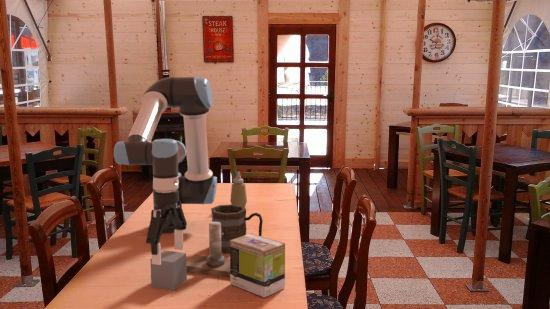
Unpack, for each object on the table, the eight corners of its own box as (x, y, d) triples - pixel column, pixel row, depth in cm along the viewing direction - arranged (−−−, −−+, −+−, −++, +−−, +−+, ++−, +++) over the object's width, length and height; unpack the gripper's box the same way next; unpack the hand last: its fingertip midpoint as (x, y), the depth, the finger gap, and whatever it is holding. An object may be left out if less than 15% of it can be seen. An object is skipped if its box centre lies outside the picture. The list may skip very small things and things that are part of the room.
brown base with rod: (182, 270, 167) (180, 224, 164) (196, 259, 176) (194, 216, 173) (237, 278, 160) (236, 231, 158) (248, 267, 170) (248, 222, 167)
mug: (207, 252, 183) (206, 213, 180) (216, 240, 196) (215, 203, 193) (259, 255, 180) (259, 215, 178) (265, 242, 194) (265, 205, 191)
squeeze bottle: (246, 210, 237) (246, 173, 234) (229, 210, 237) (229, 173, 234) (247, 206, 245) (247, 170, 242) (231, 205, 245) (230, 170, 242)
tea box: (286, 288, 154) (286, 242, 151) (263, 299, 146) (263, 251, 144) (251, 274, 164) (251, 231, 161) (229, 284, 156) (228, 239, 154)
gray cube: (151, 286, 154) (150, 259, 153) (164, 276, 162) (163, 250, 160) (174, 290, 152) (173, 262, 150) (186, 279, 159) (186, 253, 158)
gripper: (154, 200, 139) (157, 272, 142) (196, 182, 162) (197, 244, 166) (131, 198, 141) (134, 269, 145) (175, 180, 165) (177, 242, 168)
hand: (168, 256), depth 155 cm, fingers open, 13 cm apart
